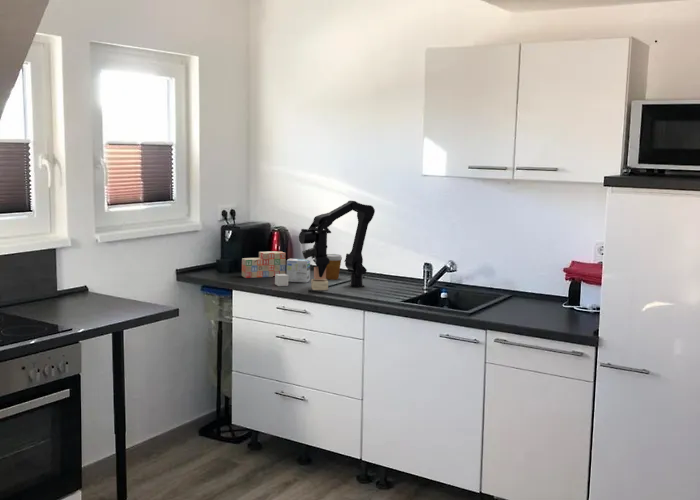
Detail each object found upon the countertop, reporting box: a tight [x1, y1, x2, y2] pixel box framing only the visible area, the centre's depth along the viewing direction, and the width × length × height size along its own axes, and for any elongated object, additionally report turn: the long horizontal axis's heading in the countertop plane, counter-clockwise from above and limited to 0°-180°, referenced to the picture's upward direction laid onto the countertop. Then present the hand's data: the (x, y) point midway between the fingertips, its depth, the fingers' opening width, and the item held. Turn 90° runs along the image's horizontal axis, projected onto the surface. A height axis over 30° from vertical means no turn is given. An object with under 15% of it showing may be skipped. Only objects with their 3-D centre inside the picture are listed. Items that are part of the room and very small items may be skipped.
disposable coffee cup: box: [326, 253, 343, 281], centre depth 388 cm, size 10×10×12 cm
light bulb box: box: [285, 258, 311, 283], centre depth 378 cm, size 11×7×11 cm, turn 80°
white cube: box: [274, 273, 289, 287], centre depth 366 cm, size 5×5×5 cm
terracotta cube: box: [313, 266, 326, 279], centre depth 359 cm, size 5×5×5 cm
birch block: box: [310, 278, 329, 291], centre depth 359 cm, size 7×7×4 cm
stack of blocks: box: [241, 250, 287, 279], centre depth 390 cm, size 21×6×12 cm, turn 116°
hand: (319, 276), depth 359 cm, fingers closed on terracotta cube, 5 cm apart
